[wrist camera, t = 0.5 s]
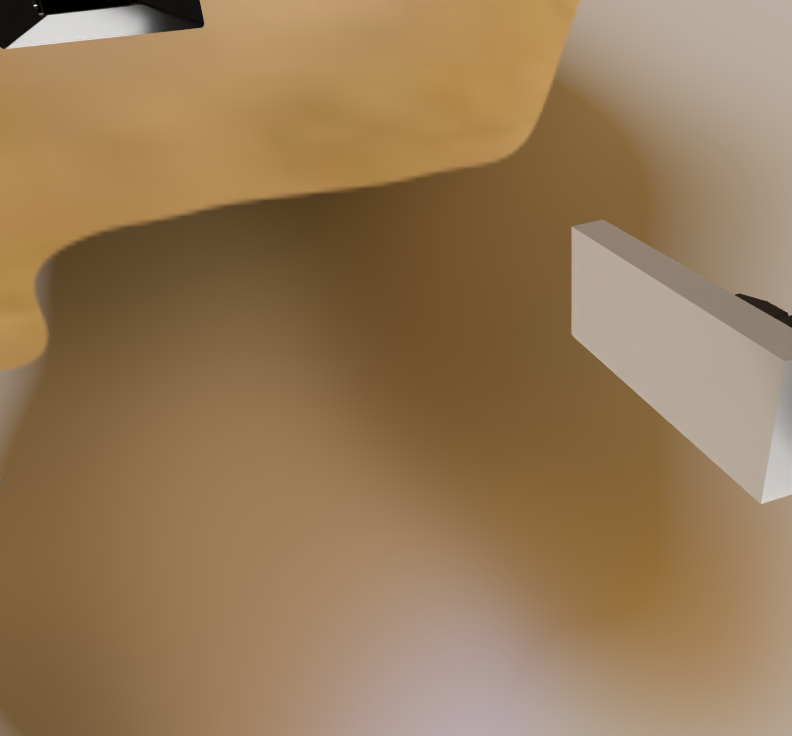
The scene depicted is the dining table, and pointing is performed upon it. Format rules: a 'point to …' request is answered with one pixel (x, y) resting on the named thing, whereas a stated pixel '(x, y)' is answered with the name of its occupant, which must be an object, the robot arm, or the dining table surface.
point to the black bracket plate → (91, 19)
